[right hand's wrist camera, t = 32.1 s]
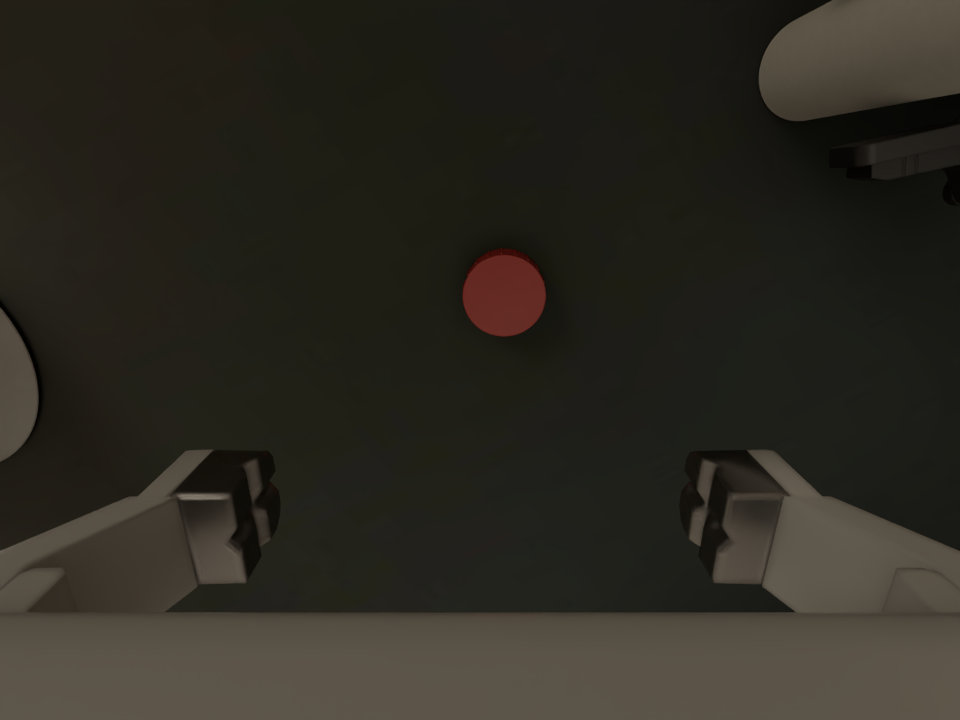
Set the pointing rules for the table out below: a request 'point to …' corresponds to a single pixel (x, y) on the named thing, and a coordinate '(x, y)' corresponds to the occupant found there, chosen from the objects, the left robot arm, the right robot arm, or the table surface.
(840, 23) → the bottle
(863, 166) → the left robot arm
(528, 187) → the table surface
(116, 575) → the right robot arm
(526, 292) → the cap
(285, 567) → the table surface
